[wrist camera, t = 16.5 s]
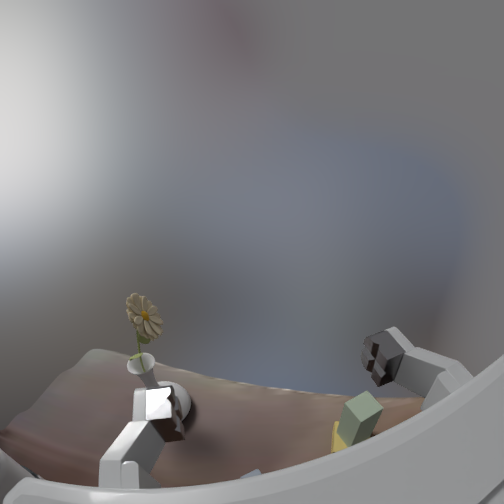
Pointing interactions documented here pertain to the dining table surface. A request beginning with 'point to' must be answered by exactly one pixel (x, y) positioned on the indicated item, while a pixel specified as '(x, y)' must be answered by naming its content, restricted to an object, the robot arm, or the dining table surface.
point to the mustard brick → (337, 440)
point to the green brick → (358, 419)
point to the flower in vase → (147, 330)
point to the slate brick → (252, 474)
